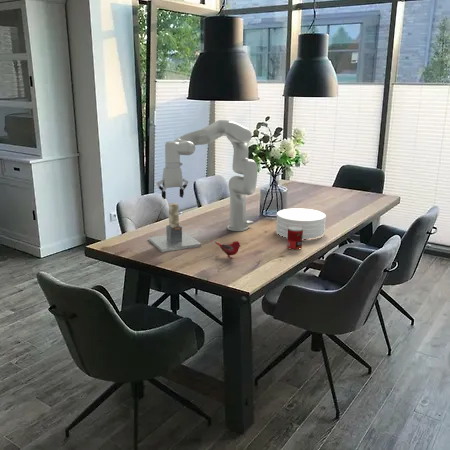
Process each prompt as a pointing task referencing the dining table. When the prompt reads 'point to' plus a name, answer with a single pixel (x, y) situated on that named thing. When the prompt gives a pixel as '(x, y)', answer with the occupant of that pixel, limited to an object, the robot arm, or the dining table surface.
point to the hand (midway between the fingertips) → (172, 197)
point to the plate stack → (301, 222)
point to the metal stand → (174, 240)
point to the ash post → (173, 215)
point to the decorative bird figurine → (230, 248)
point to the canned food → (295, 237)
